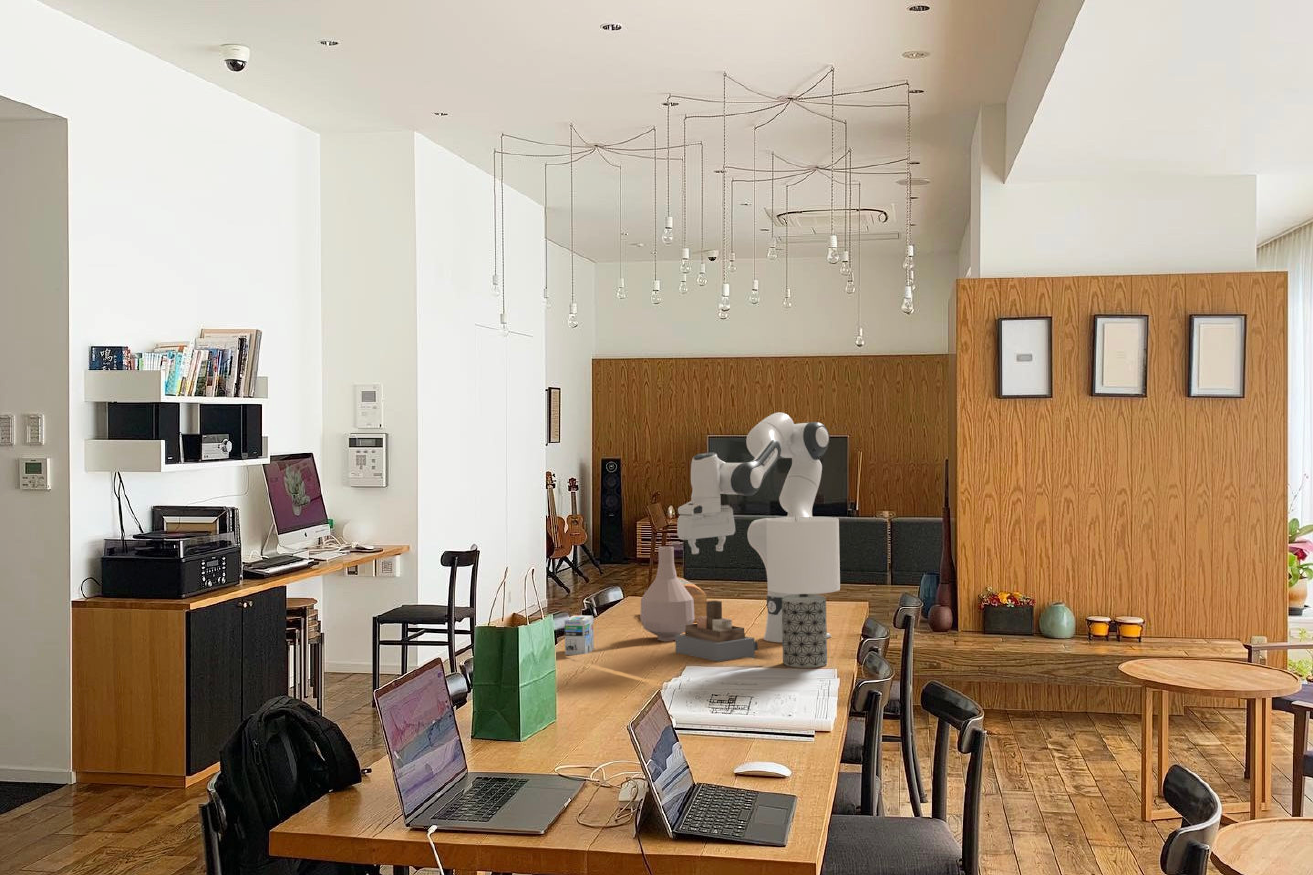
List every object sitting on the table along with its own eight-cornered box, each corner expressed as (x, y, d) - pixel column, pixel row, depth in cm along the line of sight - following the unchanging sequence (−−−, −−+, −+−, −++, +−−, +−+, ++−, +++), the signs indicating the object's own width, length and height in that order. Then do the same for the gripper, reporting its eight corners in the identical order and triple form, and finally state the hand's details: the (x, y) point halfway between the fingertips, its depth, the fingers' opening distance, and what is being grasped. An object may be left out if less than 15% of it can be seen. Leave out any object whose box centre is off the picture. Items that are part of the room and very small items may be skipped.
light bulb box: (585, 655, 356) (585, 620, 356) (564, 655, 357) (563, 619, 357) (594, 649, 366) (593, 614, 366) (573, 649, 368) (573, 614, 368)
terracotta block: (707, 628, 356) (707, 615, 356) (716, 630, 352) (715, 617, 352) (697, 630, 353) (697, 616, 353) (705, 631, 350) (705, 618, 350)
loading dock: (714, 649, 363) (714, 629, 363) (757, 658, 347) (757, 637, 347) (675, 655, 354) (675, 635, 354) (717, 664, 338) (717, 643, 338)
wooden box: (711, 624, 414) (710, 584, 414) (664, 626, 411) (664, 586, 411) (695, 611, 443) (694, 575, 443) (652, 613, 441) (651, 576, 441)
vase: (673, 645, 370) (671, 550, 370) (629, 641, 380) (628, 548, 380) (705, 637, 384) (703, 546, 384) (662, 633, 394) (660, 544, 394)
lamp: (848, 669, 327) (846, 520, 327) (775, 672, 325) (772, 522, 325) (832, 656, 347) (830, 515, 347) (763, 658, 346) (761, 517, 346)
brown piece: (710, 631, 359) (710, 597, 359) (745, 638, 346) (744, 602, 346) (685, 635, 353) (684, 600, 353) (718, 642, 340) (718, 605, 341)
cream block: (723, 631, 350) (722, 618, 350) (731, 633, 347) (731, 619, 347) (712, 633, 347) (712, 619, 347) (721, 634, 344) (721, 621, 344)
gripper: (725, 503, 363) (726, 548, 364) (673, 508, 351) (674, 554, 351) (739, 504, 358) (740, 549, 359) (686, 509, 346) (688, 556, 346)
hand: (707, 552), depth 355 cm, fingers open, 8 cm apart
